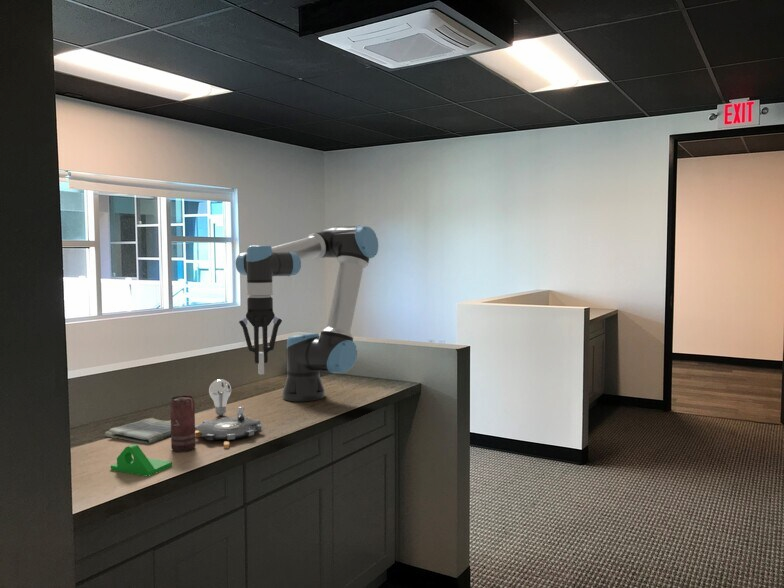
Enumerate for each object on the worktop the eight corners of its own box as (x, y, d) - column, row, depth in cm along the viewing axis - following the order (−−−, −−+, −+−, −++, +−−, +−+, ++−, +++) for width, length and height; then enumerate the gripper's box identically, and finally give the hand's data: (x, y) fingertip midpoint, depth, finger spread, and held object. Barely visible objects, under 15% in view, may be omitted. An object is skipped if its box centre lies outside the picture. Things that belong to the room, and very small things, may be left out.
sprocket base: (247, 426, 187) (247, 423, 187) (251, 438, 176) (251, 434, 176) (205, 430, 183) (205, 427, 183) (206, 442, 172) (206, 438, 172)
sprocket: (258, 418, 192) (258, 403, 191) (265, 436, 173) (265, 419, 173) (192, 424, 186) (192, 408, 186) (192, 443, 167) (192, 425, 167)
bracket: (172, 467, 153) (171, 440, 153) (148, 478, 146) (147, 449, 145) (135, 461, 158) (134, 435, 157) (110, 471, 151) (109, 443, 150)
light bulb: (208, 414, 202) (207, 378, 201) (230, 412, 205) (229, 376, 204) (211, 419, 196) (210, 382, 195) (233, 417, 198) (232, 380, 198)
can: (189, 453, 163) (187, 400, 162) (167, 451, 164) (165, 399, 163) (200, 446, 169) (199, 395, 168) (179, 444, 170) (177, 394, 169)
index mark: (224, 445, 170) (224, 441, 169) (229, 444, 170) (229, 441, 170) (223, 448, 167) (223, 444, 167) (229, 447, 167) (229, 444, 167)
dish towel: (194, 429, 187) (194, 419, 186) (149, 446, 170) (149, 435, 170) (148, 423, 194) (148, 413, 194) (100, 438, 178) (100, 427, 178)
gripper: (279, 295, 193) (281, 370, 194) (236, 296, 189) (238, 372, 190) (283, 296, 186) (284, 374, 187) (238, 297, 182) (240, 377, 183)
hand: (261, 373), depth 189 cm, fingers closed
